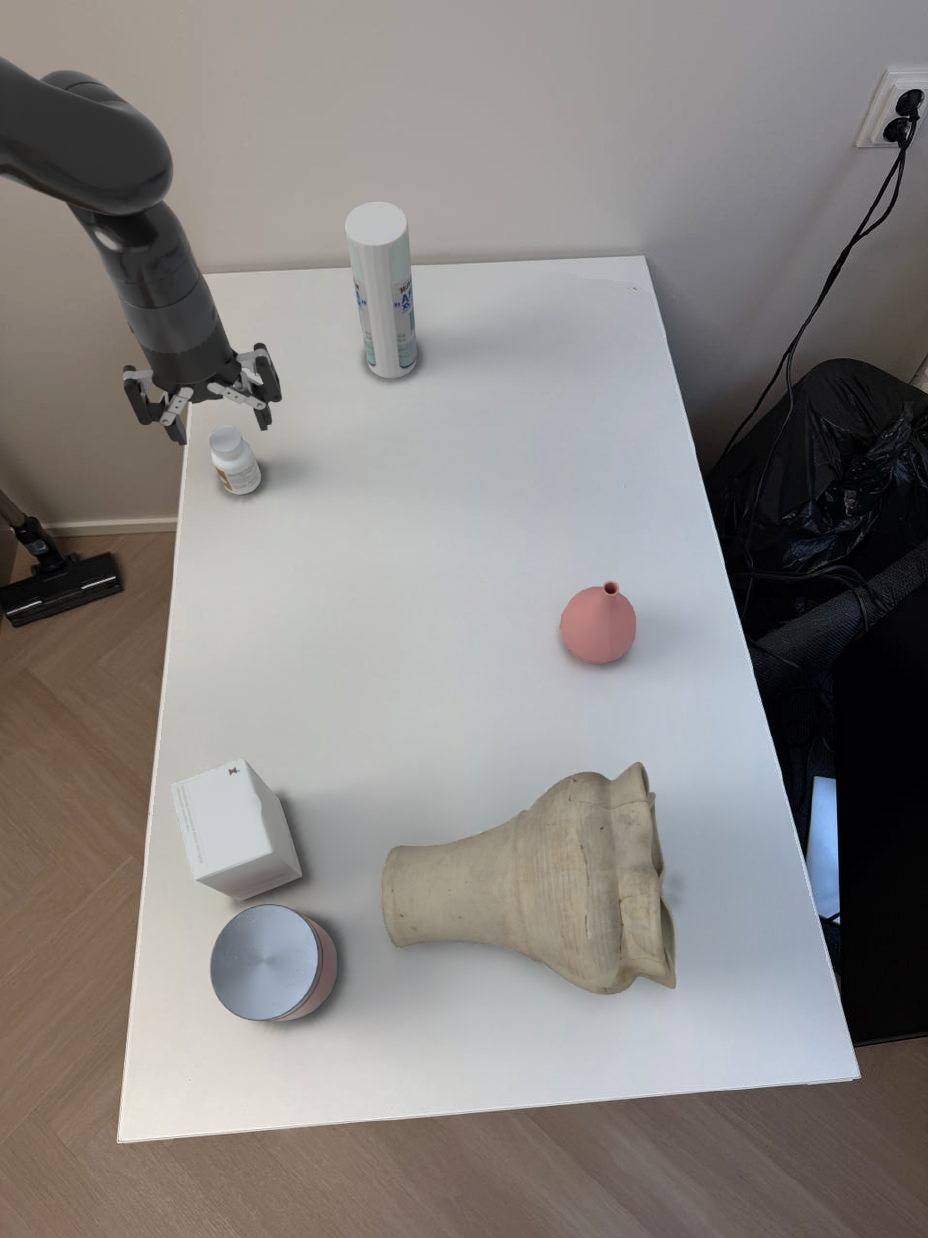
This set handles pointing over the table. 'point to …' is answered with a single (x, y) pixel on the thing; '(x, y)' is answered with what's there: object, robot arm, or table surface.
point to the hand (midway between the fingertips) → (223, 431)
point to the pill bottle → (234, 460)
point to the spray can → (383, 286)
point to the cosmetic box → (235, 831)
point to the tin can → (273, 964)
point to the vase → (549, 886)
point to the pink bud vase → (598, 624)
